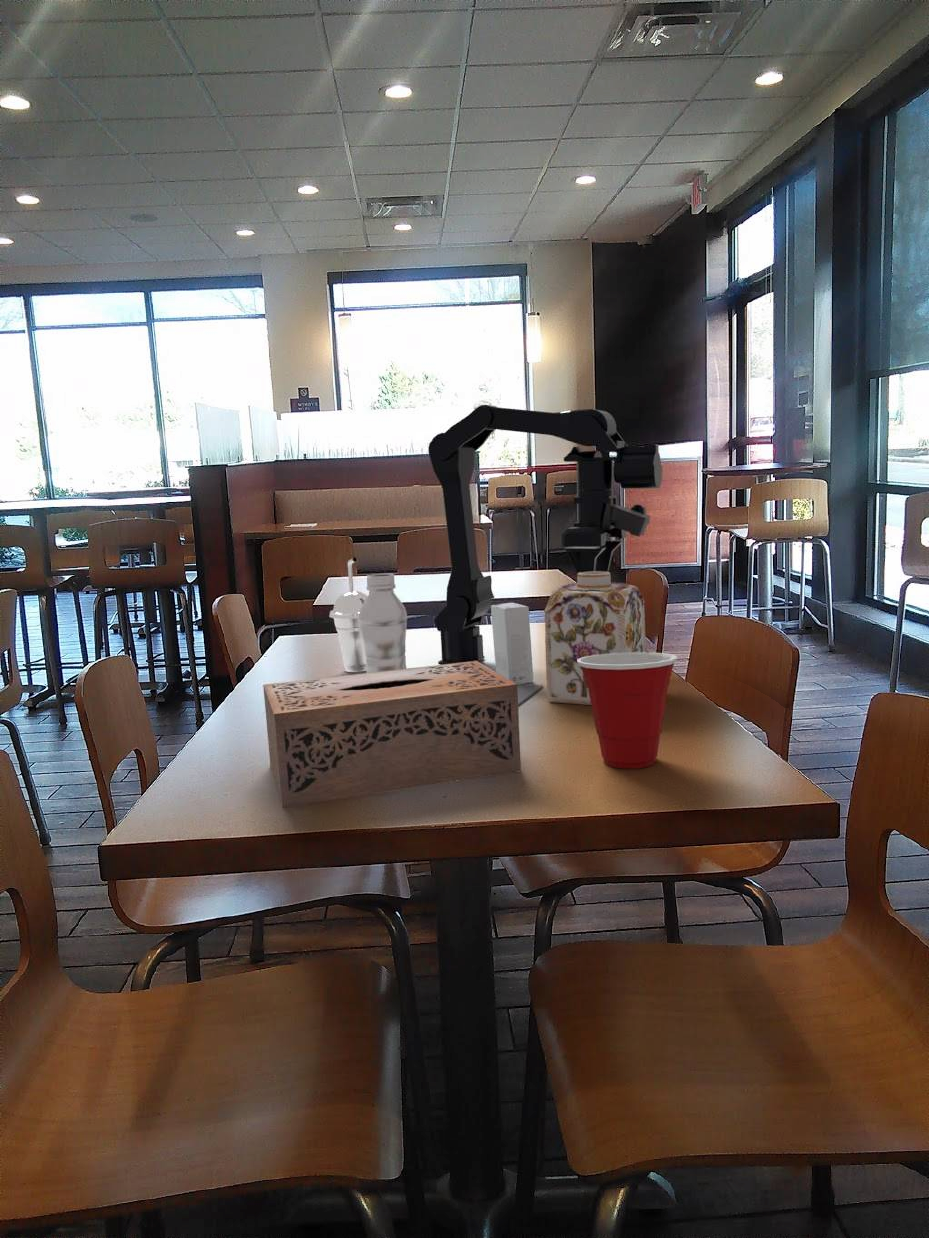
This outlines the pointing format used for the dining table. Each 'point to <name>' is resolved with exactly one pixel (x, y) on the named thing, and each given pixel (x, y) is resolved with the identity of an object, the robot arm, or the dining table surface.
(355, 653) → the cup with straw
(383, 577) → the plastic bottle
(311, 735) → the tissue box cover
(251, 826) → the dining table surface
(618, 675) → the plastic cup
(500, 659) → the skincare box
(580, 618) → the decorative jar
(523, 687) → the mat
